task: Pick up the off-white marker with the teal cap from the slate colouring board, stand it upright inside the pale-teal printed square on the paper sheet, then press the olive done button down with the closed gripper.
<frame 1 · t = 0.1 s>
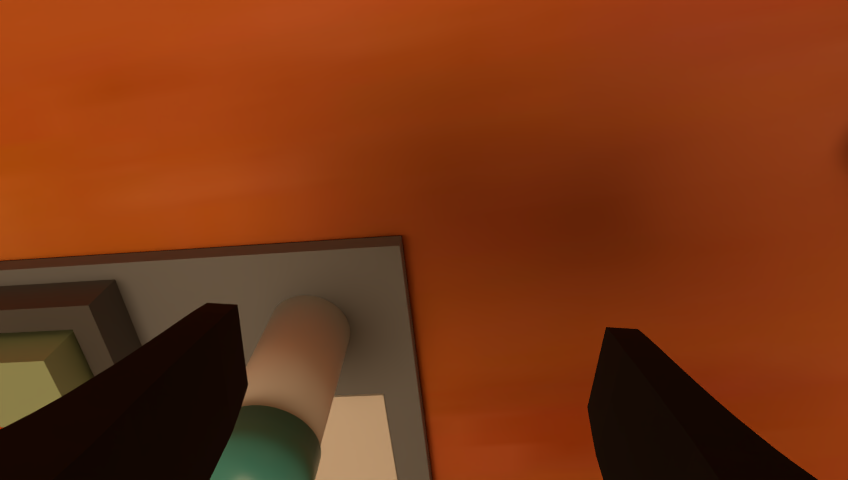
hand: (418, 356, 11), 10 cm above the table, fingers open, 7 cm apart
colouring board: (236, 436, 26), on the table
marker: (310, 329, 22), point 1 cm above the table, touching colouring board
done button: (39, 376, 21), point 3 cm above the table, slide at 0.0 cm
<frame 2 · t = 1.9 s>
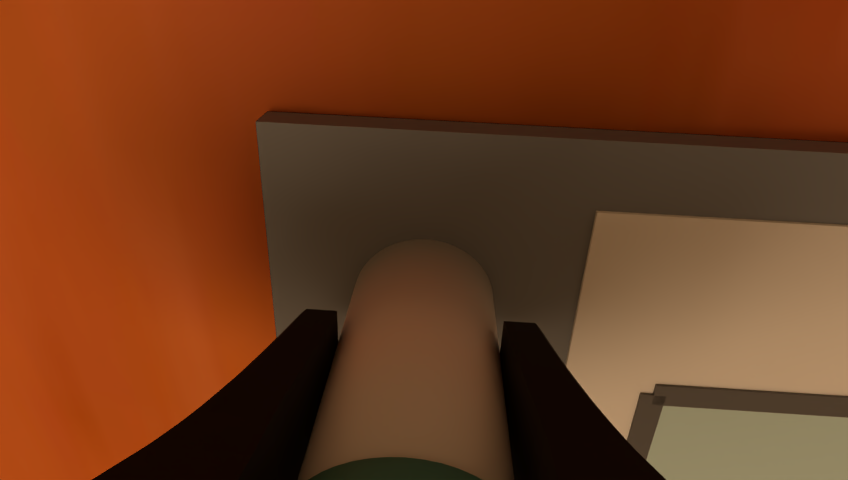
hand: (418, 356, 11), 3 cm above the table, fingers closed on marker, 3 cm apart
colouring board: (648, 448, 16), on the table
marker: (423, 301, 13), point 1 cm above the table, touching colouring board, gripper
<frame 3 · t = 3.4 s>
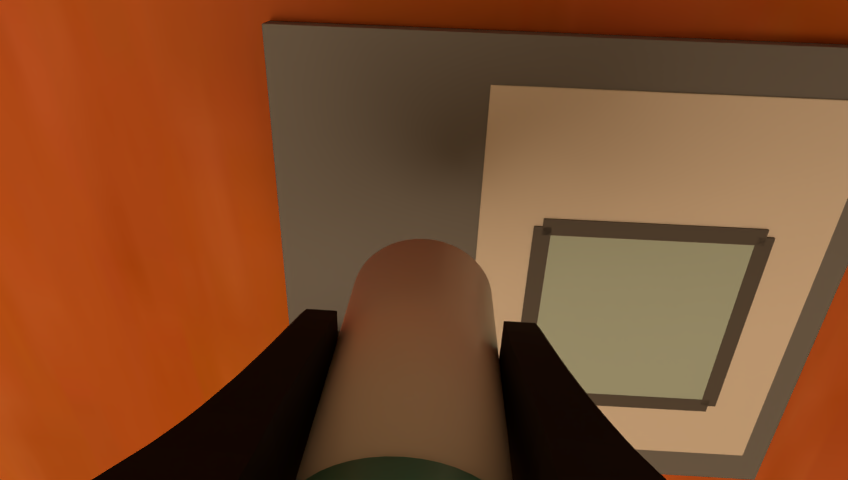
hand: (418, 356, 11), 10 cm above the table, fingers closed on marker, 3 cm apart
colouring board: (550, 282, 21), on the table
marker: (422, 300, 13), point 8 cm above the table, touching gripper
when the fingers open (4 cm above the table, at t = 5.3 s): marker drops 1 cm, resting on colouring board.
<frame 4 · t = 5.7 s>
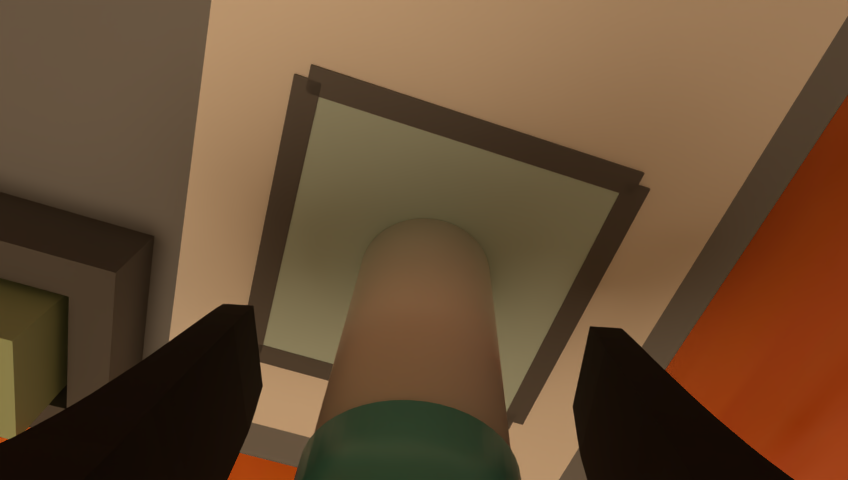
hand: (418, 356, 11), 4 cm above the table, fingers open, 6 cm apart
colouring board: (324, 189, 14), on the table
marker: (425, 276, 14), point 1 cm above the table, touching colouring board
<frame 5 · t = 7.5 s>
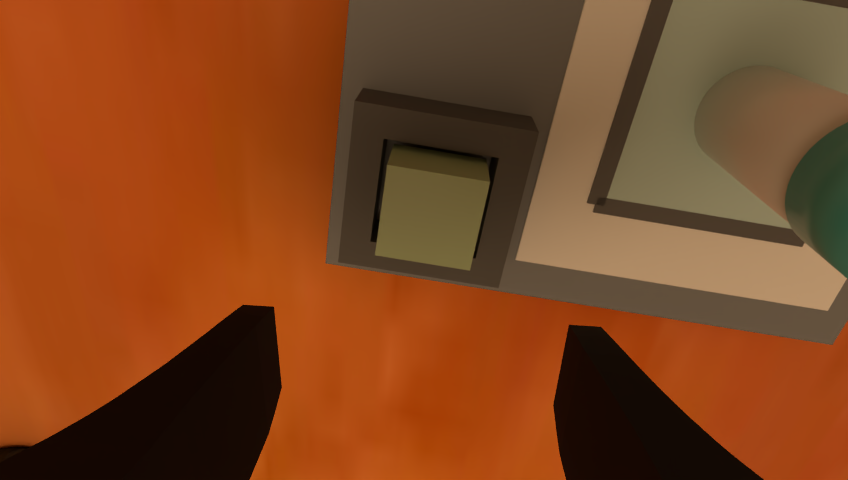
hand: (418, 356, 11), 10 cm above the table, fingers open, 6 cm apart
colouring board: (656, 63, 18), on the table
marker: (746, 116, 18), point 1 cm above the table, touching colouring board
done button: (431, 206, 18), point 3 cm above the table, slide at 0.0 cm
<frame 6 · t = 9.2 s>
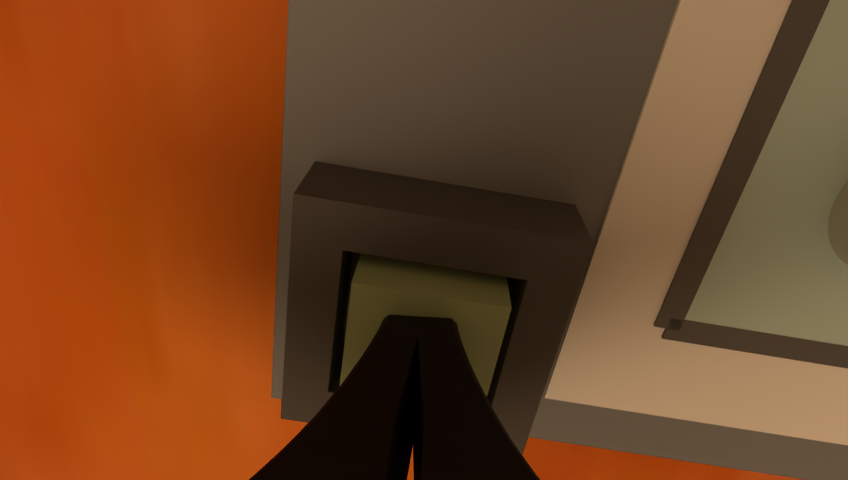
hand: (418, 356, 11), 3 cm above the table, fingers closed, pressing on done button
colouring board: (769, 123, 12), on the table
done button: (422, 328, 12), point 2 cm above the table, slide at 0.8 cm, touching gripper
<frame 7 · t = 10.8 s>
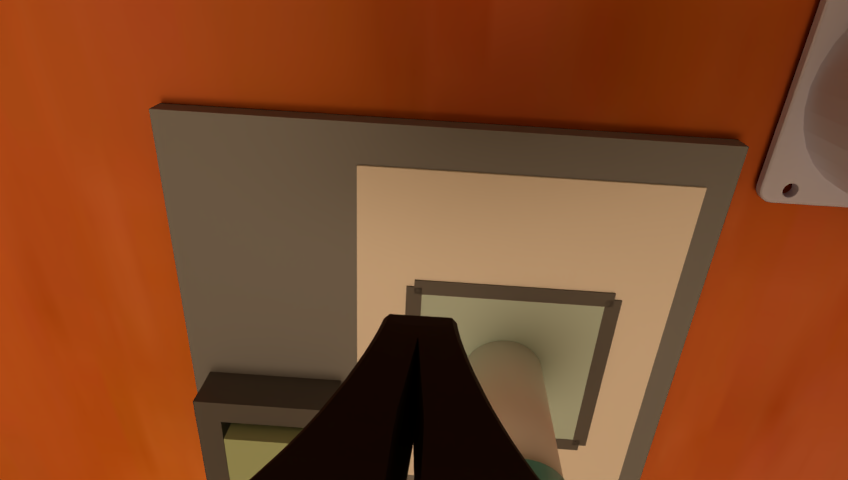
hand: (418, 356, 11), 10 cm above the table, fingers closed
colouring board: (431, 333, 24), on the table
marker: (502, 372, 23), point 1 cm above the table, touching colouring board
done button: (270, 449, 24), point 2 cm above the table, slide at 0.8 cm
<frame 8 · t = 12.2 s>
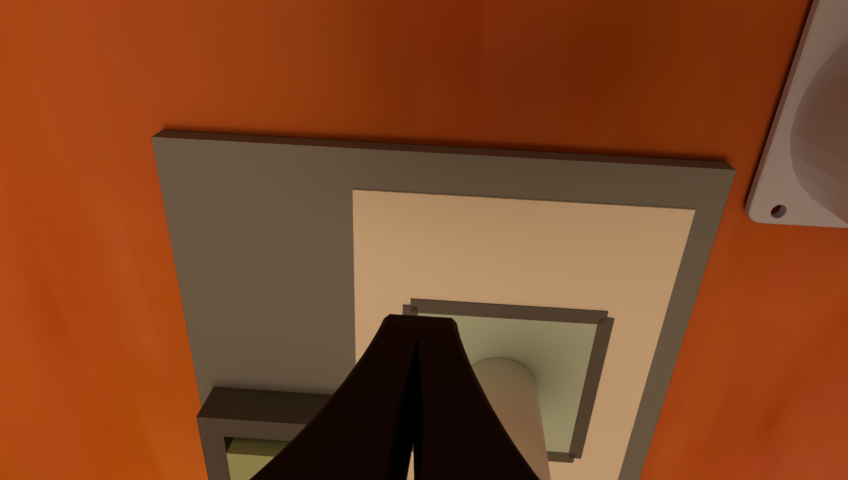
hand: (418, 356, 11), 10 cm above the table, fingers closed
colouring board: (428, 348, 24), on the table
marker: (497, 388, 24), point 1 cm above the table, touching colouring board
done button: (272, 462, 25), point 2 cm above the table, slide at 0.8 cm
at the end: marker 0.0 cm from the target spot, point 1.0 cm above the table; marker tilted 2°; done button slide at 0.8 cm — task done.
